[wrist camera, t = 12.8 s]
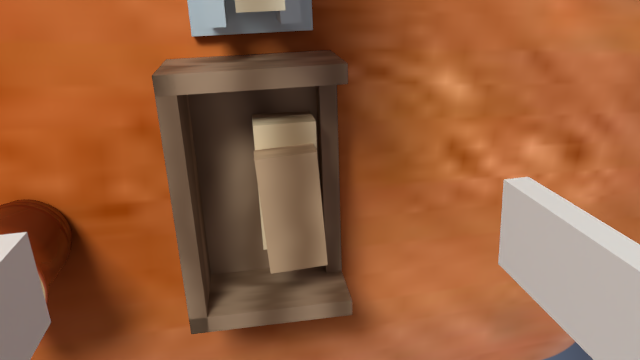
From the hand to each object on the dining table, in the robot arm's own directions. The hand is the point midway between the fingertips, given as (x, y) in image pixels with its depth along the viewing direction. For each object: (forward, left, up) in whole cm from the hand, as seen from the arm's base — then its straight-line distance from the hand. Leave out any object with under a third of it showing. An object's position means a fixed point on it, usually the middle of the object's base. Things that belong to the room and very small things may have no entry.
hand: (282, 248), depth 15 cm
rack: (-6, -8, -33) cm, 35 cm away
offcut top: (-4, -10, -27) cm, 29 cm away
